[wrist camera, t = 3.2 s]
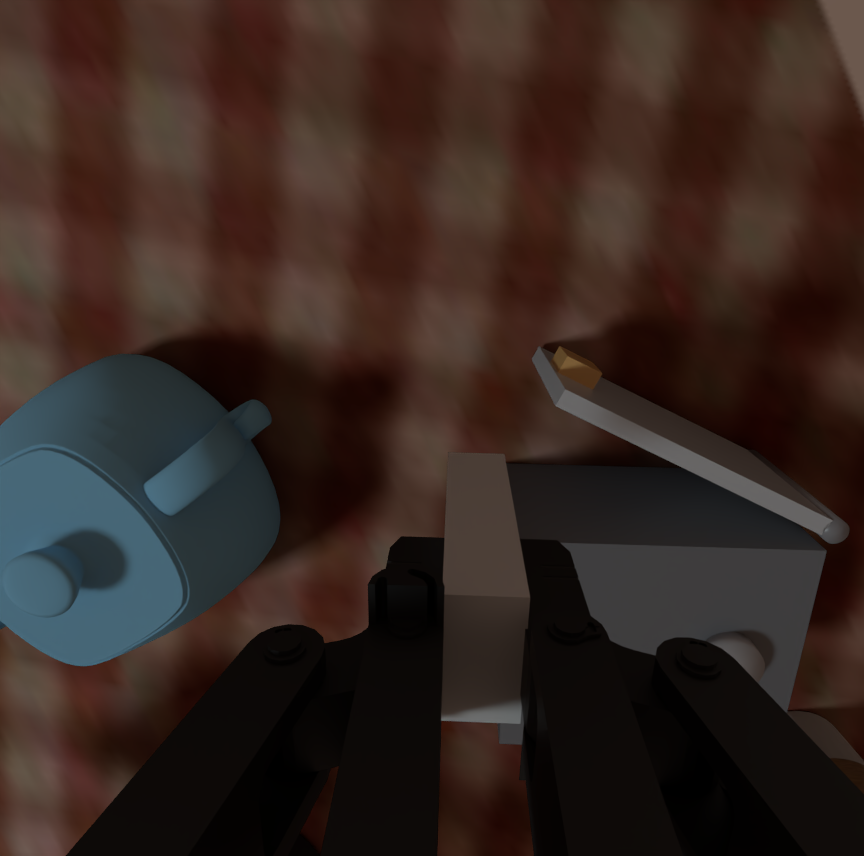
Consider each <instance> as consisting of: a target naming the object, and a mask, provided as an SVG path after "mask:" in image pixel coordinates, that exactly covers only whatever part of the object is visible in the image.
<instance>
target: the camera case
mask: <svg viewBox="0 0 864 856" xmlns="http://www.w3.org/2000/svg"><path fill="white" fill-rule="evenodd" d="M506 466H507V471H508V477H509V483H510V488H511V494H512V499H513V505H514V510H515V516H516V521H517V527H518V533H519V538H520V539H543V540H558V541H559V542H560V543H561V544H562V545H563V546H564V547H565V548H566V549H568V550H569V551H570V552H571V556H572V559H573V562H574V565H575V568H576V571H577V574H578V580H579V581H580V584H581V587H582V590H583V593H584V596H585V600H586V603H587V606H588V609H589V612H590V615H591V616H592V617H593V618H594V619H596V620H597V621H598V622H600V623H601V624H602V625H603V627H604V628H605V630H606V632H607V633H608V636H609V639H610V640H611V641H613V642H615V643H617V644H619V645H621V646H623V647H626V648H629V649H632V650H636V651H640V652H644V653H648V654H652V655H656V650H657V647H658V646H659V645H660V644H661V643H662V642H663V641H665V640H669V639H672V638H675V637H689V638H695V639H699V640H703V641H707V642H709V643H711V644H713V645H715V646H718V647H720V648H722V649H723V650H724V651H726V652H727V653H728V654H729V655H731V656H732V657H733V658H734V659H735V660H736V661H737V662H738V663H739V664H740V665H741V666H742V667H743V668H744V669H745V670H746V671H747V672H748V673H749V674H750V675H751V676H752V677H753V678H754V680H755V681H756V682H757V683H758V684H759V685H760V686H761V687H762V688H763V689H764V690H765V691H766V692H767V693H768V694H769V695H770V696H771V697H772V698H773V699H774V700H775V702H776V703H777V704H778V705H779V706H780V707H781V708H782V709H783V710H784V711H785V712H786V713H787V710H788V706H789V702H790V698H791V694H792V690H793V686H794V682H795V678H796V674H797V669H798V665H799V661H800V657H801V653H802V649H803V645H804V641H805V637H806V633H807V629H808V625H809V621H810V617H811V613H812V609H813V605H814V601H815V597H816V593H817V589H818V584H819V580H820V576H821V572H822V568H823V564H824V560H825V556H826V552H827V551H826V550H825V549H824V548H823V547H822V546H821V545H820V544H819V543H818V542H817V541H816V540H815V539H813V538H812V537H811V536H810V535H809V534H808V533H807V532H806V531H805V530H804V529H803V528H802V527H800V526H799V525H798V524H797V523H795V522H793V521H791V520H789V519H787V518H785V517H783V516H781V515H779V514H777V513H775V512H773V511H771V510H768V509H766V508H764V507H762V506H760V505H758V504H756V503H754V502H752V501H750V500H748V499H746V498H744V497H742V496H740V495H738V494H736V493H734V492H731V491H729V490H727V489H725V488H723V487H721V486H719V485H717V484H715V483H713V482H711V481H709V480H707V479H705V478H703V477H701V476H699V475H697V474H694V473H692V472H690V471H688V470H686V469H684V468H659V467H622V466H585V465H548V464H511V463H506ZM523 727H524V721H523V713H522V709H521V722H520V724H510V723H498V735H499V744H522V740H523Z"/></svg>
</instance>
